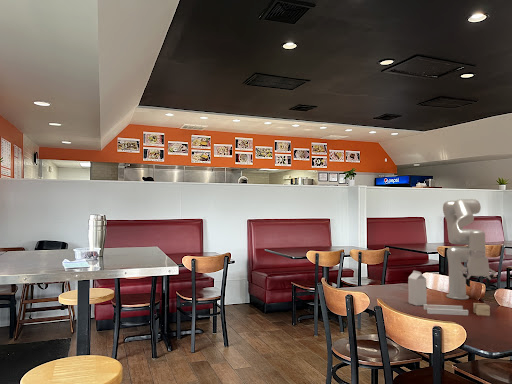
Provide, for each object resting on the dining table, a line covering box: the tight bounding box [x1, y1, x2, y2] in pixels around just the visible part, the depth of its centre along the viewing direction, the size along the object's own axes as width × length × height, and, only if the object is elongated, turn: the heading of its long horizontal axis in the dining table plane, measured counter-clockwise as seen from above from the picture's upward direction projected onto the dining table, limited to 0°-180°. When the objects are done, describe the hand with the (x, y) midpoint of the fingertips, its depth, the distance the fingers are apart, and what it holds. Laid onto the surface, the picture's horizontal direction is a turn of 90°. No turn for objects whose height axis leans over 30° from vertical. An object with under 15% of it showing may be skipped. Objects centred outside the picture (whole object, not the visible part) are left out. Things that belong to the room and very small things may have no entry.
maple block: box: [473, 302, 491, 317], centre depth 219 cm, size 6×6×5 cm
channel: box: [423, 304, 469, 316], centre depth 222 cm, size 10×20×2 cm, turn 80°
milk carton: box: [407, 269, 428, 306], centre depth 240 cm, size 7×7×19 cm
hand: (477, 286), depth 220 cm, fingers open, 9 cm apart
